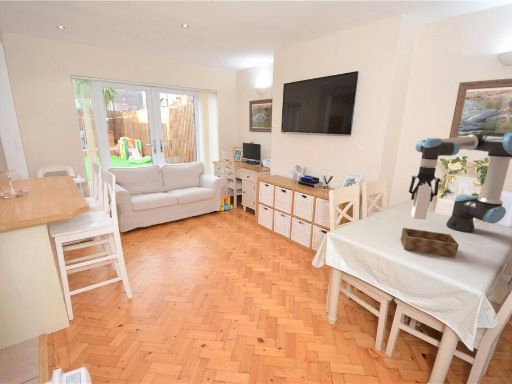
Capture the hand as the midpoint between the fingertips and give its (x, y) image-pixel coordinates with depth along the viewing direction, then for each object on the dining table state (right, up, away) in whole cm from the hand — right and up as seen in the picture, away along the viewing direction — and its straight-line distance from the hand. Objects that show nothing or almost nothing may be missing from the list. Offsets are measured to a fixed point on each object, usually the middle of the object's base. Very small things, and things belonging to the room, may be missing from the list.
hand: (420, 206), depth 147 cm
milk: (0, -7, +2) cm, 7 cm away
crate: (+2, -24, -1) cm, 24 cm away
